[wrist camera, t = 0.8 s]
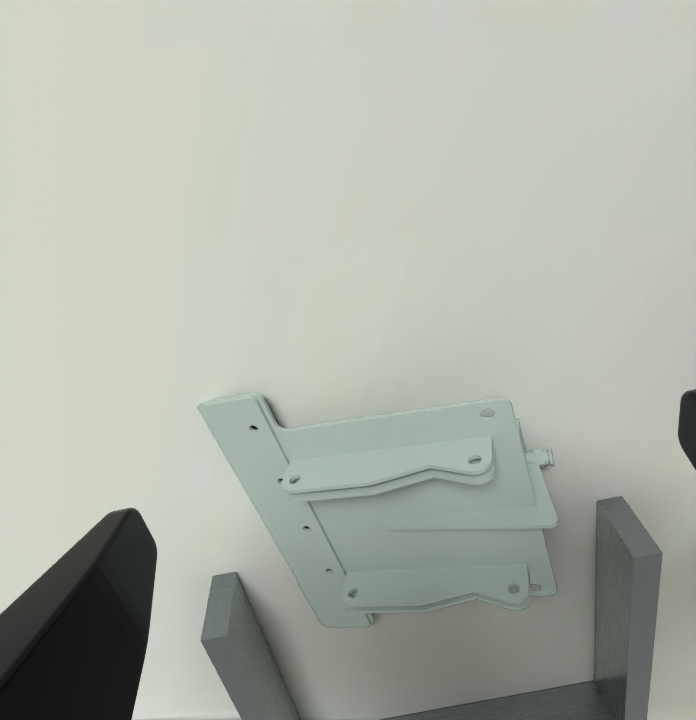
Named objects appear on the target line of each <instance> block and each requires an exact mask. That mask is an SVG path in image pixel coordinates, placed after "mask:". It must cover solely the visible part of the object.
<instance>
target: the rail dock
mask: <svg viewBox="0 0 696 720" xmlns="http://www.w3.org/2000/svg"><path fill="white" fill-rule="evenodd" d="M661 562H662V551H661V550H660V549H659V547H658V546H657V544H656V543H655V542H654V540H653V539H652V537H651V536H650V535H649V533H648V532H647V530H646V529H645V528H644V526H643V525H642V524H641V522H640V521H639V519H638V518H637V517H636V515H635V514H634V512H633V511H632V510H631V508H630V507H629V505H628V504H627V503H626V501H625V500H624V498H623V497H622V496H621V497H616V498H611V499H606V500H601V501H597V553H596V625H595V681H592V682H586V683H581V684H575V685H570V686H565V687H559V688H554V689H548V690H543V691H537V692H532V693H526V694H521V695H515V696H510V697H504V698H499V699H493V700H488V701H482V702H477V703H471V704H466V705H460V706H455V707H449V708H444V709H438V710H433V711H427V712H422V713H416V714H411V715H405V716H400V717H394V718H389V719H384V720H647V711H648V700H649V690H650V679H651V668H652V658H653V647H654V636H655V626H656V615H657V605H658V594H659V583H660V573H661ZM201 642H202V644H203V646H204V648H205V650H206V652H207V654H208V656H209V657H210V659H211V661H212V663H213V665H214V667H215V669H216V671H217V673H218V675H219V677H220V678H221V680H222V682H223V684H224V686H225V688H226V690H227V692H228V694H229V696H230V698H231V700H232V701H233V703H234V705H235V707H236V709H237V711H238V713H239V715H240V717H241V719H242V720H300V718H299V716H298V713H297V711H296V709H295V706H294V704H293V702H292V699H291V697H290V695H289V693H288V690H287V688H286V686H285V683H284V681H283V679H282V676H281V674H280V672H279V670H278V667H277V665H276V663H275V660H274V658H273V656H272V653H271V651H270V649H269V647H268V644H267V642H266V640H265V637H264V635H263V633H262V630H261V628H260V626H259V623H258V621H257V619H256V617H255V614H254V612H253V610H252V607H251V605H250V603H249V600H248V598H247V596H246V594H245V591H244V589H243V587H242V584H241V582H240V580H239V577H238V575H237V573H236V572H233V573H228V574H223V575H218V576H213V578H212V583H211V588H210V594H209V599H208V604H207V610H206V615H205V620H204V626H203V631H202V636H201Z"/></svg>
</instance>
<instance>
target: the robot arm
mask: <svg viewBox="0 0 696 720" xmlns="http://www.w3.org/2000/svg"><path fill="white" fill-rule="evenodd" d="M678 437H679V442H680V444H681V447H682V449H683V450H684V452H685V454H686V455H687V457H688V458H689V460H690V462H691V463H692V465H693V466H694V468H695V470H696V389H694V390H690V391H687V392H685V393H684V394H683V395H682V397H681V402H680V414H679V426H678ZM156 561H157V548H156V544H155V541H154V539H153V537H152V535H151V533H150V531H149V529H148V528H147V526H146V524H145V522H144V520H143V518H142V516H141V514H140V513H139V511H138V510H136V509H135V508H127V509H122V510H117V511H113V512H110V513H109V514H107V515H106V516H105V517H104V518H103V519H102V520H101V521H100V522H99V523H98V524H97V525H95V526H94V527H93V528H92V529H91V530H90V531H89V532H88V533H87V534H86V535H85V536H84V537H83V538H82V539H80V540H79V541H78V542H77V543H76V544H75V545H74V546H73V547H72V548H71V549H70V550H69V551H68V552H67V553H65V554H64V555H63V556H62V557H61V558H60V559H59V560H58V561H57V562H56V563H55V564H54V565H53V566H52V567H51V568H49V569H48V570H47V571H46V572H45V573H44V574H43V575H42V576H41V577H40V578H39V579H38V580H37V581H36V582H34V583H33V584H32V585H31V586H30V587H29V588H28V589H27V590H26V591H25V592H24V593H23V594H22V595H21V596H19V597H18V598H17V599H16V600H15V601H14V602H13V603H12V604H11V605H10V606H9V607H8V608H7V609H6V610H4V611H3V612H2V613H1V614H0V720H131V719H132V714H133V710H134V705H135V701H136V696H137V691H138V687H139V682H140V677H141V673H142V668H143V663H144V659H145V653H146V648H147V643H148V635H149V628H150V618H151V609H152V599H153V590H154V580H155V571H156Z"/></svg>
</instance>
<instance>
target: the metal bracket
mask: <svg viewBox="0 0 696 720" xmlns="http://www.w3.org/2000/svg"><path fill="white" fill-rule="evenodd" d="M197 408H198V410H199V412H200V413H201V415H202V417H203V419H204V420H205V422H206V424H207V426H208V427H209V429H210V431H211V433H212V434H213V436H214V438H215V440H216V441H217V443H218V445H219V447H220V448H221V450H222V452H223V454H224V455H225V457H226V459H227V461H228V462H229V464H230V466H231V467H232V469H233V470H234V472H235V474H236V475H237V477H238V479H239V481H240V482H241V484H242V486H243V488H244V489H245V491H246V493H247V494H248V496H249V498H250V500H251V501H252V503H253V505H254V507H255V508H256V510H257V512H258V514H259V515H260V517H261V519H262V520H263V522H264V524H265V526H266V527H267V529H268V531H269V533H270V534H271V536H272V538H273V539H274V541H275V543H276V545H277V546H278V548H279V550H280V552H281V553H282V555H283V557H284V558H285V560H286V562H287V564H288V565H289V567H290V569H291V571H292V572H293V574H294V576H295V578H296V579H297V581H298V585H299V586H300V588H301V590H302V592H303V593H304V595H305V597H306V599H307V600H308V602H309V604H310V606H311V607H312V609H313V611H314V613H315V614H316V616H317V618H318V620H319V621H320V622H321V623H322V624H323V625H324V626H325V627H329V628H344V627H369V626H370V624H372V623H373V622H374V616H373V614H372V613H422V612H429V611H432V610H436V609H440V608H444V607H448V606H452V605H456V604H460V603H464V602H468V601H471V600H475V599H478V600H481V601H485V602H488V603H491V604H494V605H497V606H500V607H503V608H507V609H510V610H514V611H520V610H523V609H526V608H527V607H528V606H529V604H530V602H531V596H550V595H554V594H556V593H557V586H556V582H555V578H554V574H553V570H552V566H551V562H550V558H549V554H548V550H547V546H546V542H545V538H544V533H543V529H542V528H554V527H556V526H557V525H558V517H557V514H556V512H555V509H554V506H553V503H552V500H551V497H550V495H549V492H548V489H547V486H546V483H545V480H544V477H543V475H542V472H541V469H540V468H541V467H545V465H550V464H551V466H554V462H553V456H552V451H551V447H549V448H548V450H542V448H540V449H533V451H531V452H526V448H525V443H524V439H523V435H522V433H521V427H520V423H519V419H515V416H514V412H513V408H512V404H511V402H510V400H508V399H506V398H504V397H498V398H491V399H484V400H477V401H470V402H464V403H457V404H450V405H443V406H436V407H430V408H423V409H416V410H409V411H403V412H396V413H389V414H382V415H375V416H369V417H362V418H355V419H348V420H341V421H335V422H328V423H321V424H314V425H307V426H301V427H294V428H282V427H280V426H279V425H278V424H277V422H276V420H275V418H274V416H273V415H272V413H271V411H270V409H269V407H268V405H267V403H266V401H265V399H264V397H263V396H262V395H261V394H258V393H249V394H243V395H238V396H232V397H226V398H221V399H215V400H210V401H207V402H204V403H201V404H199V405H198V407H197ZM485 409H490V410H492V411H494V413H495V414H494V415H493V416H492V417H484V416H482V415H481V411H482V410H485ZM251 425H253V426H256V427H257V428H258V430H254V429H252V427H251ZM279 479H282V482H281V481H280V480H279ZM304 526H307V527H309V529H307V528H305V527H304ZM327 569H331V570H327ZM531 584H538V585H540V587H539V588H532V587H531V586H530V585H531Z"/></svg>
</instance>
